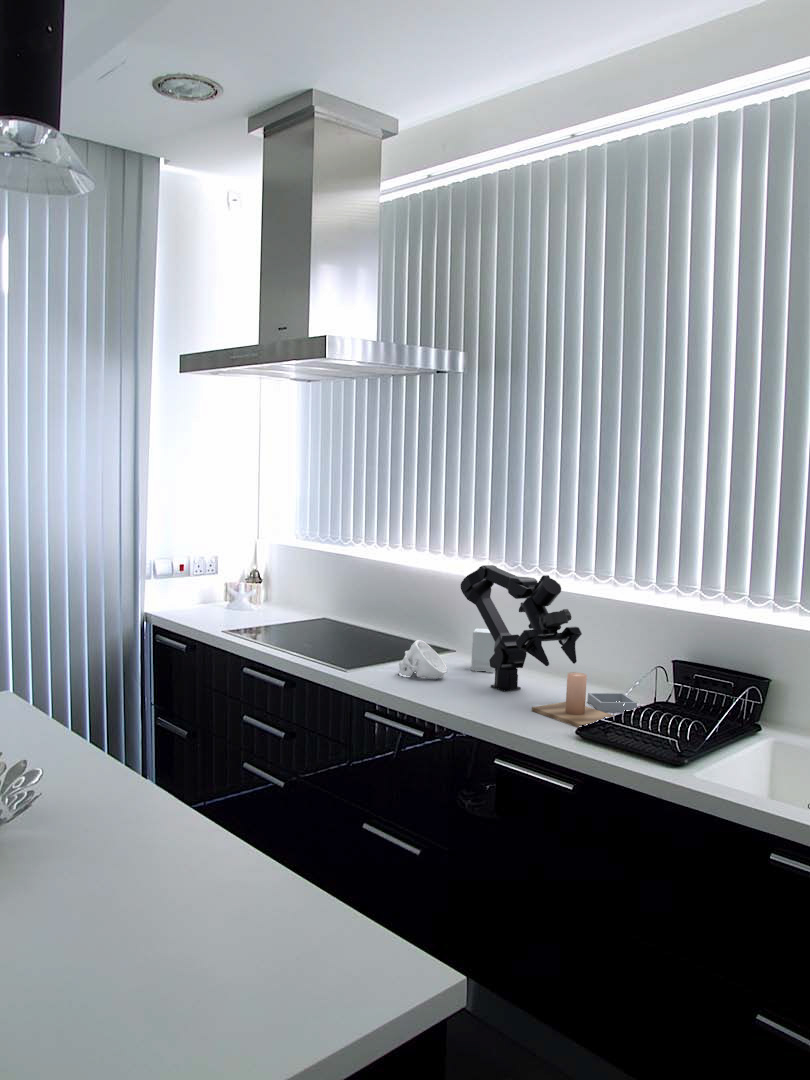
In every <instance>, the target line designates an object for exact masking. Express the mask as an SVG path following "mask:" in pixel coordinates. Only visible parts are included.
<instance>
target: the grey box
mask: <svg viewBox="0 0 810 1080" xmlns="http://www.w3.org/2000/svg"><path fill="white" fill-rule="evenodd" d="M616 701H620V702H616ZM586 702H587V703H588V704H589V705H591V706H592V707H593V708H594V709H596V710H599V711H602V712H605V713H609V712H611V713H614V712H615V713H616V712H617V713H624V712H623V711H624V710H632V709H634V708H637V709H638V703H637V701H635V700H634V699H632V698H631V697H630V696H628V695H626V694H625V693H623V692H587V701H586ZM624 703H625V704H626V705H624V706H623V704H624Z"/></svg>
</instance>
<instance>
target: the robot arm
mask: <svg viewBox="0 0 810 1080" xmlns="http://www.w3.org/2000/svg"><path fill="white" fill-rule="evenodd" d="M495 584H496V585H498V586H499V587H501V588H503V589H506V590H507V593H508V594H509V595H510V596H511V597H512V598H514V599H517V600H519V599H520V600H522V599H525V600H524V601H523V602H520V604H519V605H520V606H519V607H518V612H519V613H525V615H526V617H527V619H528V621H529V624H528V626H527V627H528V629H524V630H523V631H522V632H521V634H520V635H519V634H511V633H510V631H509V630H508V628H507V625H506V623H505V622H504V620H503V618H502V616H501V614H500V612H499V611H498V609H497V607H496V605H495V603H494V602H493V600H492V598H491V597H492V596H491V594H492V587H493V586H494V585H495ZM460 590H461V593H462V594H463V595H464V597H465V598H466V600H467V601H469V602H470V603H471V604H473V605H475V607H476V608H477V610H478V612H479V614H480V616H481V618H482V619H483V621H484V624H485V625H486V627H487V629H489V631H490V633H491V635H492V637H493V639H494V641H495V646H494V652H495V653H494V655H493V656H492V657H491V658H490V660H489V661H490V667H492V668H495V670H494V684H490V685H489V686H490V688H493V689H496V690H499V691H501V692H511V691H518V690H521V688H522V687H520V686H519V685H518V683H519V681H518V680H519V673H518V669H523V667H524V665H525V661H526V658H527V655H528V654H529V655H530V656H532V657H534V658H535V659H536V660H538V662H540V663H541V664H542V665H544V666H546V667H549V665H550V661H549V659H548V657H547V654H546V651H545V650H544V648H543V646H542V645H543V644H542V643H543V642H553V641H554V642H555V641H556V642H557V641H558V643H559V644H560V645H561V647H560V648H561V650H562V651H563V652H564V654H565V655H566V656H567V658H568V659H569V660H570V662H571V663H572V664H574V665H575V664H576V663H577V651H576V643H577V640H578V639H579V638H580V637H581V636H582V635H583V633H582V631H581V629H580V627H579V626H566V627H565V628H564V629H563V630H562V631H561V632H558V631H560V630H561V628H562V625H564V624H568V623H569V621H571V620H572V614H571V611H570V610H569V609H568V608H563V609H561V610H559V611H552V612H549V611H548V609H547V607H549V606H551V605H552V604H553V602H554V601H555V600H556V599H557V597H558V596H559V595H560V593H561V592H562V587H561V584H560V583H558V582H557V580H555V579H553V578H551V577H550V575H548V574H547V575H546V574H545V575H542V576H541V577H540V579H539V580H537V579H536V578H535V577H529V576H519V575H515V574H512V573H510V572H508V571H505V570H503V569H501V568H499V567H497V565H493V564H492V565H491V564H490V565H489V564H487V565H481V566H479V567H478V568H477V569H476V570H475V571H472V572H471V573H469V574H467V576H465V577H463V579H462V581H461V582H460Z"/></svg>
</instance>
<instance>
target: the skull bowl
mask: <svg viewBox="0 0 810 1080" xmlns="http://www.w3.org/2000/svg"><path fill="white" fill-rule="evenodd" d="M398 668H399V670H398V672H399V673H401V674H402V675H406V676H412V675H413V674H414V673H413V672H416V673H415V674H416V677H417V678H424V679H426V680H427V679H428V680H436V679H437V680H438V678H439V679H440V678H442V677H444V676H445V675H446V674H447V671H448V668H447V665H446V663H445V662H444V660H443V658H442V657H441V656H440V655H439V653H437V651H436V650H435V649H433V647H431V646H430V645H429V644H428V643H427V642H425V641H423V640H421V639H417V640H415V641H414V642H413V643H412V644H411V646H410V648H409V650H405V651H404V657H403V659H402V660H400V661H399V662H398Z"/></svg>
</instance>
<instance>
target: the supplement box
mask: <svg viewBox="0 0 810 1080" xmlns="http://www.w3.org/2000/svg"><path fill="white" fill-rule="evenodd" d="M494 646H495V641H494V639H493V637H492V635H491V633H490V631H489V629H488V628H475V629H474V630H473V632H472V646H471V650H472V651H471V664H470V665H471V667H470V668H471V669H470V671H471V670H475V671H474V672H477V671H486V672H485V673H489V672H494V673H495V668H492V667H490V661H489V660H490V658H491V657H492V656H493V655H494V653H495V652H494Z"/></svg>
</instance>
